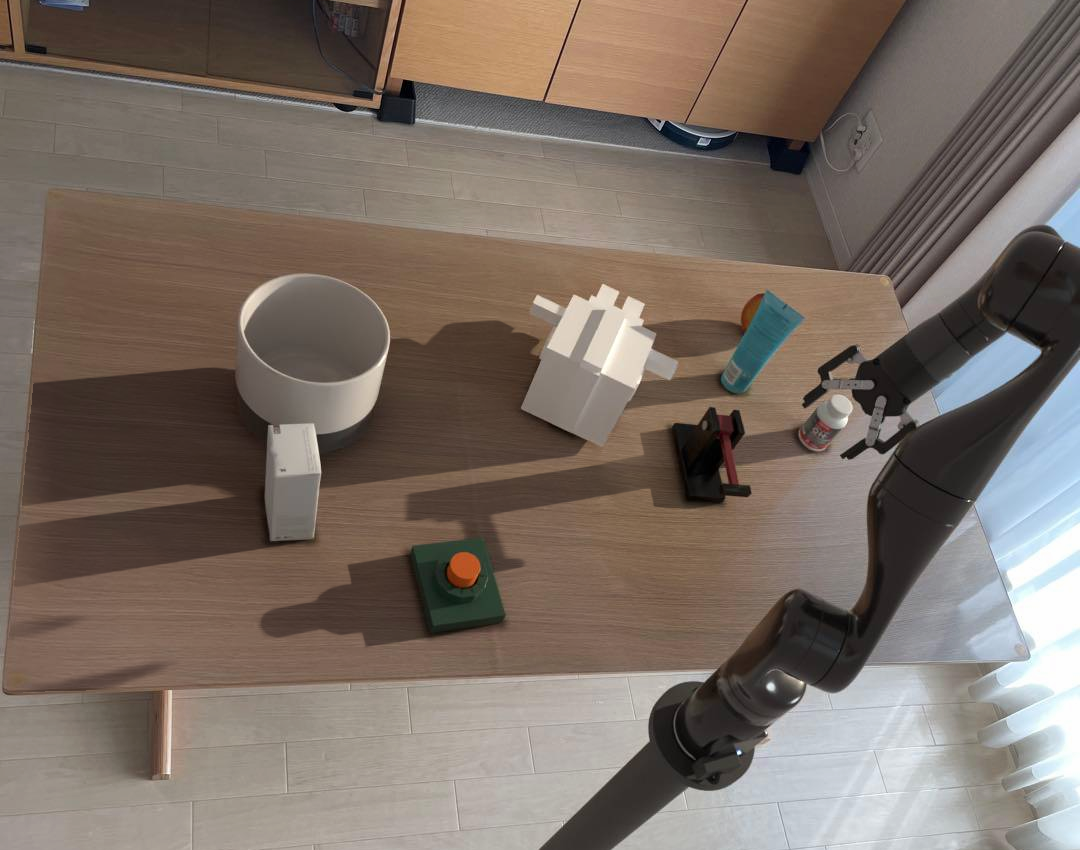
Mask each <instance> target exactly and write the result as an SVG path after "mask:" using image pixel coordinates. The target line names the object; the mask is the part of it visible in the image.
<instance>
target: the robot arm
mask: <svg viewBox="0 0 1080 850" xmlns="http://www.w3.org/2000/svg"><path fill="white" fill-rule="evenodd" d="M1006 334H1009V335H1011V336H1013V337H1015V338H1017V339H1019V340H1021V341H1023V342H1024V343H1026V344H1028V345H1030V346H1032V347H1034V348H1036V349H1038V350H1039V351H1040V353H1039V355H1037V357H1035V359H1034V360H1033V361H1032V362H1031V363H1030V364H1028V365H1027V366H1026V367H1025V368H1024V369H1023V370H1021V371H1020V372H1019V373H1018V374H1016V375H1015V376H1013V377H1012V378H1011V379H1009V380H1008V381H1006V382H1004V383H1003V384H1002V385H1000V386H998V387H996V388H995V389H993V390H991V391H990V392H988V393H986V394H983V395H982V396H980V397H979V398H976V399H974V400H972V401H970V402H968V403H966V404H963V405H961V406H958V407H956V408H954V409H951V410H950V411H947V412H945V413H943V414H941V415H938V416H935V417H934V418H932V419H929V420H928V421H926V422H923V423H922V424H920V421H919V420H917V419H914V417H913V416H912V415H911V414H910V413H909V412H908V411H907V409H908V408H909V406H910V405H912V403H914V402H915V401H917V400H918V399H920V398H921V397H923V396H924V395H925V394H927V393H928V392H929V391H931V390H932V389H933V388H935V387H936V386H938V385H939V384H940V383H942V382H944V381H945V380H947V379H949V378H950V377H952V376H953V374H955V373H957V372H958V371H959V370H960V369H962V367H964V366H965V365H966V364H967V363H968V362H970V360H972V359H973V358H974V357H975V356H977V355H978V354H980V353H981V352H983V351H984V350H985V349H987V348H988V347H989V346H991V345H992V344H993V343H995V342H997V341H998V340H999V339H1001V338H1002V337H1004V336H1005V335H1006ZM1078 362H1080V247H1079V246H1077V245H1075V244H1073V243H1071V242H1069V241H1066V240H1065V239H1064V238H1063V237H1062V236H1061V234H1059V232H1058V231H1057V230H1056V229H1055V228H1053V227H1052V226H1050V225H1047V224H1036V225H1031V226H1029V227H1027V228H1025V229H1022V230H1021V231H1020V232H1019V233H1018V234H1016V235H1015V236H1014V237H1013V238H1012V239H1011V240H1010V241H1009V243H1008V244H1007V245H1006V246H1005V248H1004V249H1003V250H1002V251H1001V252H1000V254H999V255H998V256H997V258H996V259H995V260H994V262H993V263H992V264H991V266H990V267H989V268H988V269H987V270H986V272H985V273H984V274H983V275H982V276H981V277H980V278H979V279H978V280H977V281H976V282H975V283H974V284H973V285H972V286H971V287H969V288H968V290H966V291H965V292H964V293H962V294H961V295H960V296H958V298H956V299H955V300H954V301H951V303H949V304H948V305H947V306H945V307H944V308H943V309H941V310H940V311H939V312H937V313H936V314H934V315H932V316H931V317H929V318H928V319H926V320H924V321H922V322H921V323H919V324H918V325H917V326H915V327H914V328H912V329H911V330H910V331H909V332H908V333H906V334H905V335H903V336H902V337H900V338H899V339H898V340H897V341H895V342H894V343H893V344H891V345H889V347H888V348H886V349H884V351H882V352H881V353H880V354H878V355H877V356H875V357H874V358H873V359H869V360H868V359H867V358H866V356H865V355H864V353H863V352H862V346H861V345H860V344H853V345H850V346H848V347H847V348H846V349H844V350H843V351H841V352H840V353H838V354H836V355H835V356H834V357H832V358H831V359H829V360H828V361H827V362H825V363H823V364H822V365H820V366H819V367H818V368H817V374H818V375H819V377H820V383H819V384H818V385H817V386H816V387H814V388H813V389H811V390H810V391H809V392H807V393H806V394H805V395H804V396H803V398H802V400H803V401H804V402H803V403H801V406H802V407H803V408H804V409H807V408H809V407H811V406H812V405H813V404H815V403H816V402H817V401H818V400H820V399H821V398H822V397H824V396H825V395H826V394H828V393H829V392H830V390H851V397H852V398H853V400H854V401H855V402H857V403H858V404H859V405H860V408H861V410H862V411H863V413H864V414H865V415H868V416H869V417H870V418H871V419H870V422H869V425H868V431H867V434H866V437H863V438H862V439H861V440H859V441H857V442H856V443H855V444H853V445H852V446H851V447H849V448H848V449H847V450H845V451H844V452H842V453H841V454H839V457H840V458H841V459H842V460H845V458H846V459H847V460H848V461H850V460H853V459H855V458H856V457H858V456H859V455H861V454H862V453H863V452H865V451H866V450H868V449H873V450H875V451H876V452H877V453H878V454H879V455H885V454H887V453H888V452H889V451H891V450H892V449H893V448H894V447H895V448H894V451H892V453H891V455H890V456H889V458H888V459H887V461H886V462H885V464H884V465H883V467H882V468H881V470H880V472H879V473H878V474H877V475H876V478H875V479H874V481H873V482H872V483H871V486H870V489H869V490H868V495H867V501H866V535H867V537H866V538H867V572H866V580H865V583H864V585H863V589H862V591H861V593H860V596H859V597H858V600H857V601H856V603H855V604H854V606H853V607H852V608H851V609H849V610H848V609H845V608H843V607H841V606H840V605H837V604H834V603H833V602H831V601H828V600H827V599H825V598H823V597H820V596H818V595H817V594H814V593H813V592H810V591H808V590H805V589H802V588H794V589H792V590H789V591H788V592H786V593H784V594H783V595H782V596H781V597H780V598H779V599H778V600H777V601H776V602H775V603H774V605H773V606H772V607H771V608H770V609H769V611H768V612H767V613H766V615H764V617H763V618H762V619H761V620H760V621H759V622H758V624H756V626H754V628H753V629H752V630H751V631H750V632H749V634H748V635H747V636H746V637H745V639H744V640H743V642H742V643H741V644H740V646H739V647H738V648H737V649H736V650H735V651H734V652H733V653H732V654H731V655H730V656H729V657H728V658H727V659H726V660H725V661H724V662H723V663H722V664H721V665H720V666H719V667H718V668H717V669H716V670H715V671H713V673H712V674H711V675H710V676H709V677H708V678H707V679H706V680H705V681H703V682H704V683H703V684H702V685H701V686H700V687H697V688H695V689H694V690H693V691H692V692H694V691H695V692H694V693H693V694H692V695H691V696H690V697H689V698H688V699H687V700H686V701H684V702H683V703H682V704H681V705H680V706H679V707H678V708H677V709H676V711H675V713H674V715H673V718H672V733H673V737H674V740H675V742H676V744H677V746H678V748H679V749H680V750H681V752H682V753H683V754H684V755H685V756H686V757H687V758H689V759H690V760H691V761H693V762H694V764H693V765H692V768H693V771H694V774H695V777H696V779H697V780H701V779H706V780H707V781H708V782H709V783H711V784H712V785H717V784H718V783H719V782H720V780H721V777H722V775H723V774H727V773H731V772H733V771H734V770H735V769H737V768H738V767H739V766H741V765H742V764H741V761H740V759H739V758H741V757H742V756H743V755H745V754H746V753H747V752H748V751H750V750H751V749H752V748H754V747H755V748H756V746H758V745H759V744H760V743H761V742H762V741H764V740H765V739H767V738H768V736H769V733H768V729H769V728H770V727H771V726H773V725H774V724H776V722H778V721H779V720H781V718H783V717H784V716H786V714H788V713H789V712H790V711H792V710H794V708H796V707H797V706H798V705H799V703H800V702H801V701H802V700H803V698H804V696H805V693H806V691H807V686H808V685H809V686H811V687H813V688H815V689H817V690H819V691H822V692H825V693H828V694H833V695H835V694H838V693H841V692H843V691H844V690H845V689H847V688H848V687H849V686H850V685H851V684H852V683H853V682H854V681H855V680H856V679H857V678H858V676H859V675H860V673H861V672H862V670H863V669H864V667H865V666H866V664H867V663H868V662H869V660H870V658H871V656H872V655H873V653H874V651H875V650H876V648H877V646H878V645H879V643H880V641H881V640H882V638H883V636H884V635H885V633H886V631H887V629H888V628H889V626H890V624H891V623H892V621H893V620H894V618H895V616H896V615H897V613H898V611H899V610H900V608H901V606H902V605H903V603H904V602H905V600H906V598H907V596H909V594H910V592H911V590H912V589H913V588H914V587H915V585H916V583H917V582H918V580H919V579H920V578H921V576H922V575H923V573H924V572H925V571H926V570H927V568H928V566H929V565H930V563H932V561H933V560H934V558H935V557H936V555H938V553H939V552H940V550H941V549H942V548H943V546H944V545H945V544H946V542H947V541H948V540H949V538H950V537H951V536H952V534H954V532H955V531H956V530H957V528H958V527H959V525H960V524H961V523H962V522H963V520H964V519H965V518H966V516H967V514H968V513H969V512H970V510H971V509H972V507H974V505H975V503H976V502H977V501H978V499H979V497H980V496H981V495H982V493H983V491H984V490H985V488H986V487H987V485H988V484H989V482H990V481H991V479H993V476H994V475H995V473H996V472H997V471H998V469H999V467H1000V466H1001V464H1002V463H1003V462H1004V460H1005V458H1006V457H1007V455H1008V454H1009V453H1010V451H1011V450H1012V448H1013V447H1014V445H1015V444H1016V443H1017V441H1018V440H1019V438H1020V436H1021V435H1022V434H1023V432H1024V431H1025V430H1026V428H1027V427H1028V425H1029V424H1030V423H1031V421H1032V420H1033V419H1034V418H1035V416H1036V415H1037V414H1038V413H1039V411H1040V410H1041V409H1042V407H1043V406H1044V405H1045V404H1046V403H1047V401H1048V400H1049V399H1050V397H1052V395H1053V394H1054V392H1055V391H1056V390H1057V389H1058V387H1059V386H1060V385H1061V384H1062V383H1063V381H1064V380H1065V379H1066V377H1068V375H1069V374H1070V373H1071V372H1072V370H1073V369H1074V367H1075V366H1076V365H1077V364H1078ZM845 363H847V364H849V365H853V364H855V363H857V364H858V368H857V371H856V374H855V377H843V378H841V377H840V378H835V377H834V376H833V373H832V372H833V371H835V370H836V369H838V368H839V367H841V366H842V365H843V364H845ZM887 417H889V418H890V417H891V418H892V417H893V418H894V417H899V418H900V421H899V422H898V423H897V429H898V431H896V432H895V433H894V434H893V435H892V436H890V437H889V438H887V440H882V439H881V438H880V436H881V432H882V429H883V428H884V425H885V422H886V418H887ZM692 692H691V693H692ZM714 776H715V778H713V777H714Z"/></svg>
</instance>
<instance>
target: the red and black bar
mask: <svg viewBox="0 0 1080 850" xmlns="http://www.w3.org/2000/svg"><path fill="white" fill-rule="evenodd" d="M717 416H718V421H719V425H720V429H721V431H720V433H719V434H718V436H717V437H716V439H720V442H721V447H722V452H723V457H724V466H725V471H726V476H727V481H728V482H726V483H725V482H722V484H721V485H720V487H719V492H720V495H725V497H738V498H749V497H750V496H751V495H752V488H751V485H749V484H740V481H739V477H738V472H737V467H736V463H735V458H734V452H733V451H732V448H731V443H730V438H729V437H730V435H731V434H732V433H733V432H734V429H733V424H732V419H731V416H730V415H728V414H717Z"/></svg>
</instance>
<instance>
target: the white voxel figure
mask: <svg viewBox="0 0 1080 850" xmlns="http://www.w3.org/2000/svg"><path fill="white" fill-rule="evenodd" d="M619 294H620V291H619V290H617V289H615V288H612V287H611V286H608V285H606V284H604V283H602V284H601V286H600V288H599V290H598V292H597V294H596V296H594V295H593V294H591V295H590V297H589V299H588V300H587V299H585V298H583V297H581V296H578V295H576V294H573V295H572V297H571V300H570V301H569V303H568V305H567V307H565V306H562V305H561V304H557V303H556V302H553V301H551V300H550V299H547V298H545V297H543V296H541V295H539V294H537V295H536V296H535V298H534V300H533V301H532V304H531V306H530V309H529V312H528V315H530V316H532V317H534V318H537V319H538V320H540V321H543V322H545V323H546V324H549V325H551V326H553V327H552V329H551V330H550V333H549V334H548V336H547V339H546V340H545V343H544V345H543V347H542V350H541V352H540V355H539V357H538V360H540V362H539V364H538V366H537V369H536V372H535V374H534V375H533V377H532V381H531V383H530V385H529V388H528V391H527V392H526V395H525V397H524V400H523V402H522V403H521V404H522V405H521V407H520V410H522V411H524V412H527V413H528V414H531V415H533V416H535V417H537V418H539V419H541V420H543V421H546V422H548V423H549V424H552V425H553V426H556V427H558V428H560V429H561V430H564V431H567V432H569V433H571V434H572V435H576V436H577V437H578V438H579V437H580V438H581V439H584V440H586V441H588V442H590V443H592V444H594V445H596V446H599V447H600V448H604V447H605V446H606V443H607V442H608V440H609V438H610V436H611V434H612V432H613V430H614V428H615V427H616V425H617V423H618V421H619V419H620V418H621V416H622V414H623V412H624V410H625V408H626V406H627V405H628V402H631V401H632V398H633V396H634V395H635V393H636V391H637V389H638V387H639V385H640V383H641V381H642V378H643V376H644V373H645V371H646V370H647V371H648V372H650V373H652V374H655V375H656V376H658V377H661V378H663V379H666V381H667V380H668V381H670V382H671V379H672V378H673V376H674V374H675V373H676V371H677V368H678V366H679V362H680V361H678V360H676V359H674V358H672V357H670V356H668V355H665V354H664V353H662V352H659V351H658V350H655V349H653V348H652V347H653V344H654V342H655V340H656V337H657V332H654V331H652V330H650V329H648V328H647V327H644V326H643V324H644V322H645V320H644V319H643V318H640V317H641V315H642V313H643V310H644V307H645V305H646V303H644V302H642V301H640V300H638V299H636V298H634V297H631V296H629V295H627V297H626V299H625V301H624V304H623V306H622V308H620V307H618V306H615V303H616V301H617V298H618V297H619Z"/></svg>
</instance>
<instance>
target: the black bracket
mask: <svg viewBox="0 0 1080 850" xmlns="http://www.w3.org/2000/svg"><path fill="white" fill-rule="evenodd" d="M717 415H718V412H717V408H716V407H715V406H709V407H708V408H707V410H706V411H705V413H704V415H703V416H702V417H701V419H700V420H699V422H698V424H691V423H683V422H682V423H681V422H674V423H673V425H672V426H671V427H670V428H671V433H672V438H673V442H674V448H675V452H676V457H677V463H678V468H679V472H680V476H681V481H682V486H683V491H684V495H685V500H686V501H687V502H700V503H711V504H723V502H724V501H725V500H726V496H725V495H720V492H719V487H720V485H721V484H722V483H723V481H722V477H721V473H720V469H721V467H722V466H723V464H725V462H724V457H723V452H722V447H721V442H720V439H716V437H717V436H718V434H719V433H720V431H721V429H720V425H719V421H718V416H717ZM729 416H731V419H732V424H733V429H734V432H733V433H732V434H731V435H730V437H729V438H730V443H731V448H732V452H733V451H734V449H735V448H736V447H737V446H738V445H739V443H740V441H741V440H742V439H743V437H744V436H745V435H746V431H745V427H744V423H743V418H742V415H741V411H740V409H733V410H732V411H731V412H730V414H729Z"/></svg>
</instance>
